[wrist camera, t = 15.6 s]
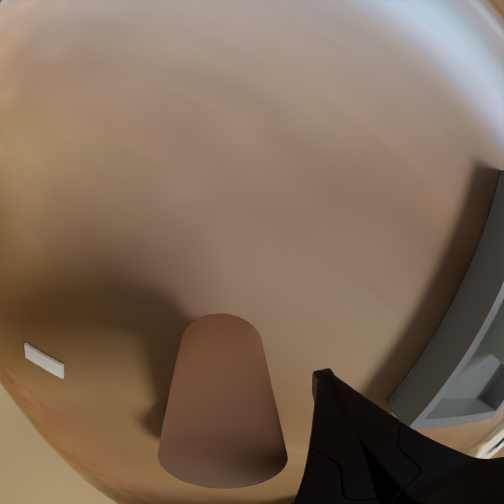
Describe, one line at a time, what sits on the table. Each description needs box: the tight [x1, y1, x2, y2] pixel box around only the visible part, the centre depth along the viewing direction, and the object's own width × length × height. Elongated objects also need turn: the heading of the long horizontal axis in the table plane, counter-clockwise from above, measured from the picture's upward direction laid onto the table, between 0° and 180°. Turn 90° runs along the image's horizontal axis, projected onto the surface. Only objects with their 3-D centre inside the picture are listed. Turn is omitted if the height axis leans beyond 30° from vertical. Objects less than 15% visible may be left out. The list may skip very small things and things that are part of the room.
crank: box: [158, 314, 288, 489], centre depth 9 cm, size 12×4×6 cm, turn 176°
